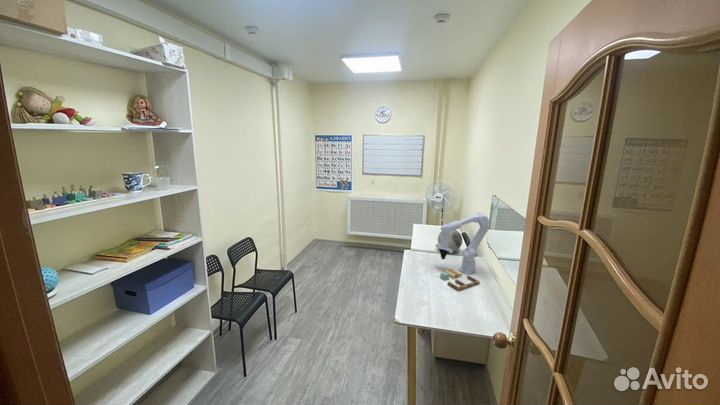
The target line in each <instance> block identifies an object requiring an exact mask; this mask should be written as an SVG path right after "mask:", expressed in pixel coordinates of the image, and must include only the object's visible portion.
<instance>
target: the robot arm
mask: <svg viewBox="0 0 720 405" xmlns="http://www.w3.org/2000/svg"><path fill="white" fill-rule="evenodd" d="M489 219H490V218H488V216H487V215H485V214H484V213H483V212H476V213H474V214H472V215H470V216H468V217H466V218H463V219H461V220H452V222H450V223H445V224H442V225H441V227H440V230H441V231H442V233H441V242H440V244H439V243H436V244H435V247H436V248H439V249H438V251H439V254H440V258H441V260H445V259H446V256H447V255H448V253H450V254H453V252H454V251H453V250H451V249H450V248H449V247H448V246H449V234H450V232H451V231H454V230H458V229H461V228H462V226H465V225H468V224H470V223H476V224H478V225H479V228H478V231H477V232H476V234H475V235H474V237H473V239H472V240H471V242H470V244H469V245H468V246H466V247H465V249H463V250H462V252H461V254H462V256H463V257H462V262H461V268H459V269H458V271H459V272H461V273H463V274H465V275H471V274H473V273H476V272H477V270H476V264H477V262H476V260H475V256H476V254H477V252H476V250H477V249H478V247H479V245H480V244H481V243H482V241H483V239H484V238H485V236H486V234H487V232H488V231H489V229H490V220H489Z"/></svg>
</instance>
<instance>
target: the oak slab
mask: <svg viewBox="0 0 720 405" xmlns="http://www.w3.org/2000/svg"><path fill="white" fill-rule="evenodd" d="M444 272H446V273H448V274H449V279H450V278H451V279H452V280H456V279H458V278H461V277H462V273H463V272H461V271H459V270H457V269H454V268H450V269H447V270H445V271H444Z"/></svg>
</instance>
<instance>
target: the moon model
mask: <svg viewBox="0 0 720 405" xmlns="http://www.w3.org/2000/svg"><path fill="white" fill-rule="evenodd" d="M441 233H442V230H441V231H440V232H439V234H438V236H437V244H440V242H441ZM462 245H463V237H462V234H461V233H460V232H459V231H458V229H456V230H454V231H451V232H450V234H449V246H448V247H449V248H450V249H451V250H453V252H456V251H458V250H459V249H460V248H461V246H462Z"/></svg>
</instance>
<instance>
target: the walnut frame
mask: <svg viewBox="0 0 720 405" xmlns="http://www.w3.org/2000/svg"><path fill="white" fill-rule="evenodd" d="M466 279H467V280H469V281H471V282H469V283H465V282H463V281H461V280H458V278H455V279H454V280H455V281H454V283H455V284H454V283H453V282H451V281H448V282H447V286H449V287H450V288H452V289H453V290H456V291H457V292H461V291H463V290H467V289H469V288H472V287H476V286H478V285H480V283H481V282H480V280H479V279H477V278H474V277H472V276H470V275H467V276H466ZM458 285H459V286H458Z"/></svg>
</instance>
